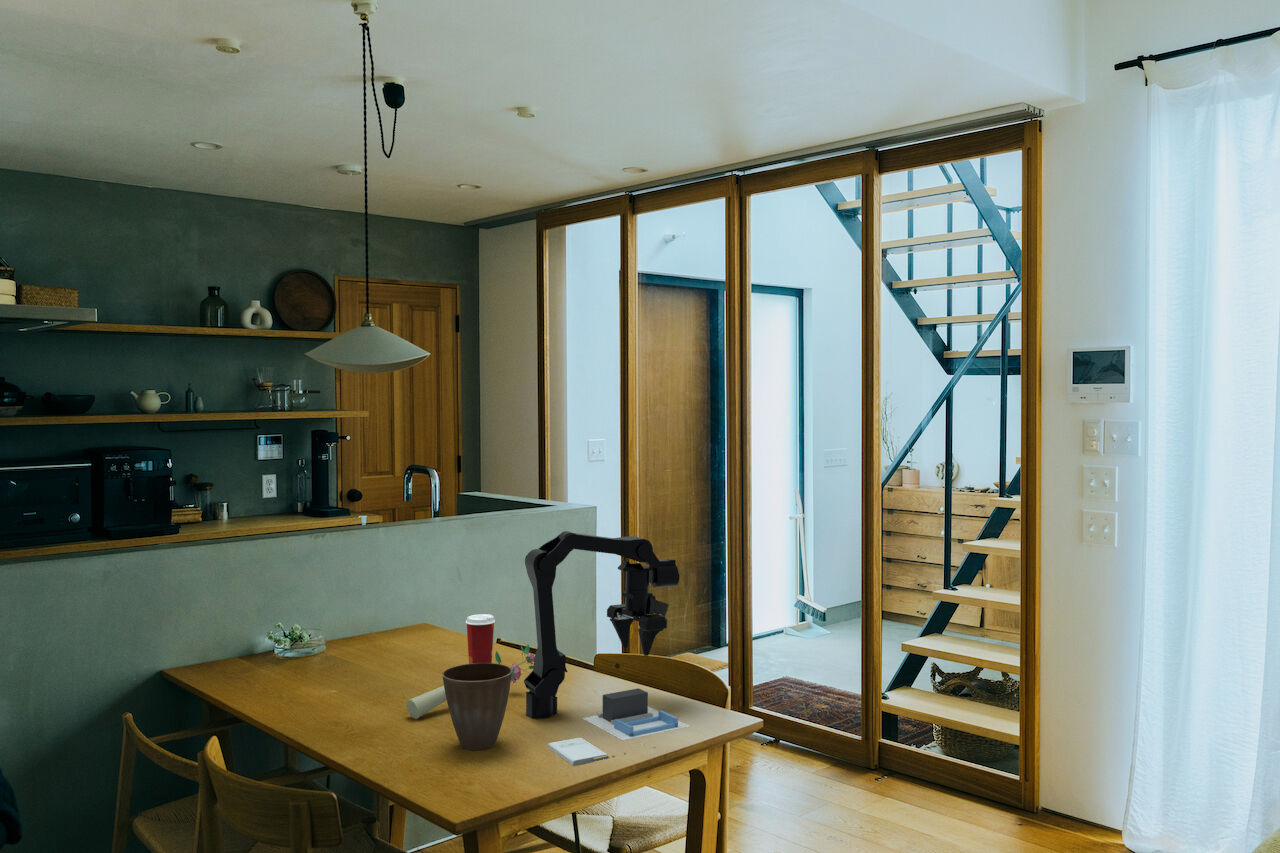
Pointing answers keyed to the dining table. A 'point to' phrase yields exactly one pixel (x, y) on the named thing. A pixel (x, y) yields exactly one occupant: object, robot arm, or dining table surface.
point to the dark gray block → (625, 704)
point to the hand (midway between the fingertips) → (635, 651)
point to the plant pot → (477, 702)
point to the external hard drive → (577, 751)
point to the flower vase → (438, 696)
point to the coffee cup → (480, 638)
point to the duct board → (638, 724)
